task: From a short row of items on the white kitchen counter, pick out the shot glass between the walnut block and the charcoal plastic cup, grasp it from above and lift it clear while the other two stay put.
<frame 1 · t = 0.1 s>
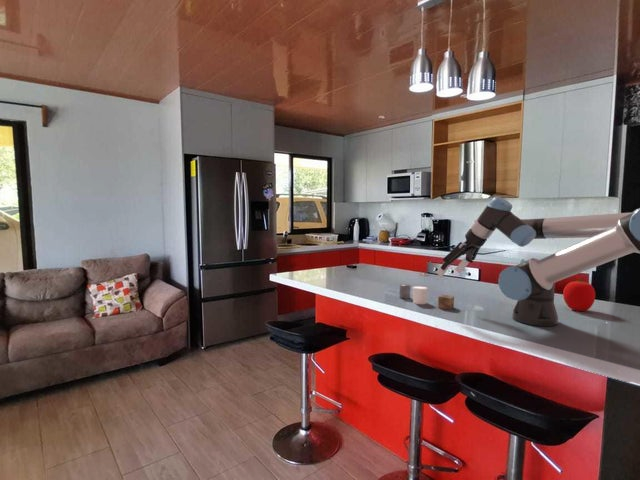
hand: (448, 273, 155), 15 cm above the countertop, tool tilted 35°, fingers open, 13 cm apart
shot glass: (419, 303, 167), on the countertop
walnut block: (445, 307, 159), on the countertop
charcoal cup: (404, 297, 176), on the countertop
tomato: (578, 310, 157), on the countertop
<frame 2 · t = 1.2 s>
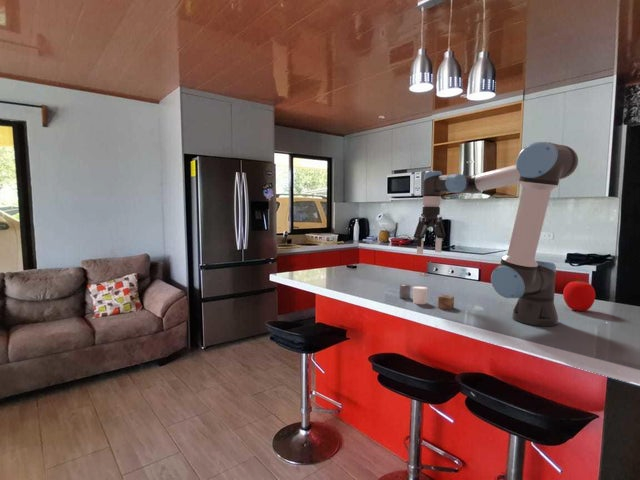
hand: (429, 253, 170), 22 cm above the countertop, tool pointing down, fingers open, 13 cm apart
nothing on the countertop moved.
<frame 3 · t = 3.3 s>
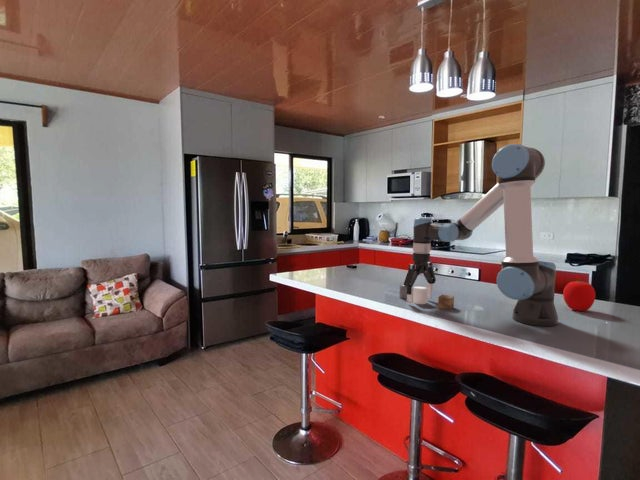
hand: (419, 299, 167), 1 cm above the countertop, tool pointing down, fingers open, 13 cm apart
nothing on the countertop moved.
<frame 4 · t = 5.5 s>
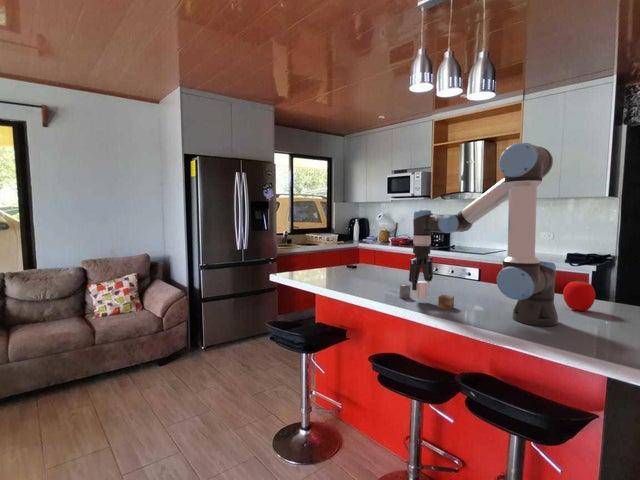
hand: (420, 296, 167), 3 cm above the countertop, tool pointing down, fingers closed on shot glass, 7 cm apart
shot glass: (421, 297, 167), point 3 cm above the countertop, touching gripper
everything else where it was.
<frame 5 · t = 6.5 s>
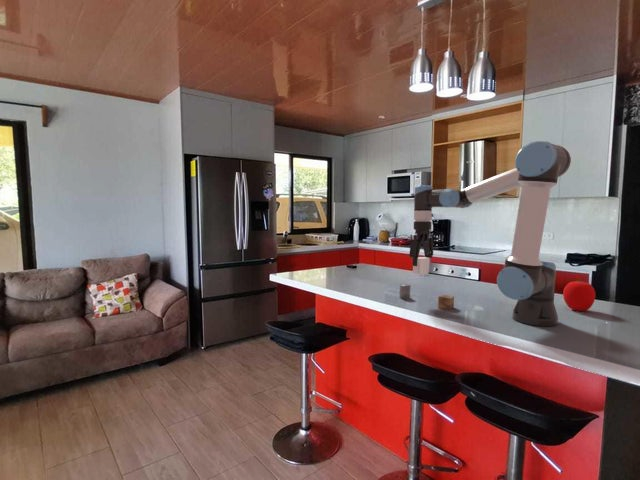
hand: (421, 272, 166), 14 cm above the countertop, tool pointing down, fingers closed on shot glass, 7 cm apart
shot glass: (421, 273, 166), point 13 cm above the countertop, touching gripper
everything else where it was.
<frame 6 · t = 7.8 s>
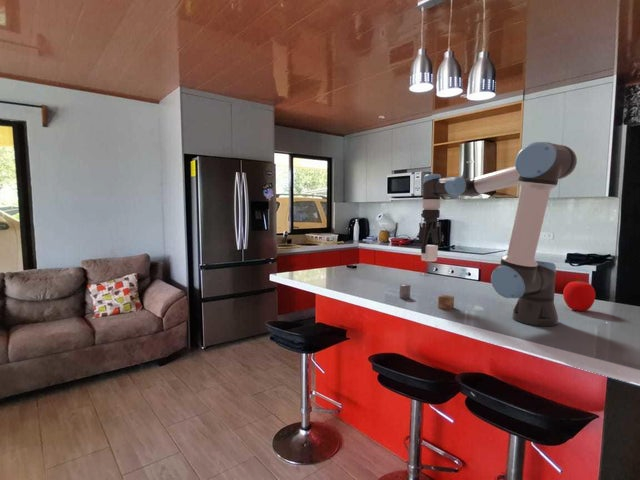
hand: (429, 259, 170), 19 cm above the countertop, tool pointing down, fingers closed on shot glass, 7 cm apart
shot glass: (429, 261, 169), point 18 cm above the countertop, touching gripper
everything else where it was.
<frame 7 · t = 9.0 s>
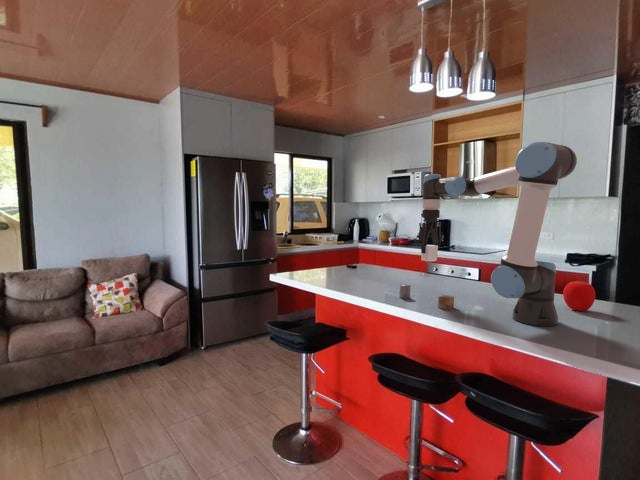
hand: (429, 259, 170), 19 cm above the countertop, tool pointing down, fingers closed on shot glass, 7 cm apart
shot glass: (429, 261, 169), point 18 cm above the countertop, touching gripper
everything else where it was.
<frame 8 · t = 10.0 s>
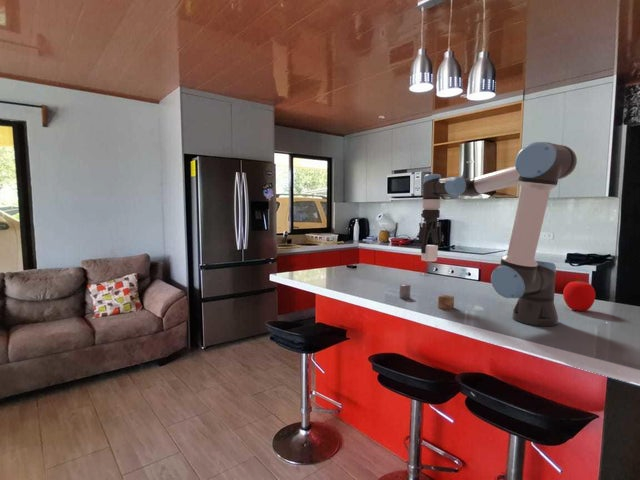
hand: (429, 259, 170), 19 cm above the countertop, tool pointing down, fingers closed on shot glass, 7 cm apart
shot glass: (429, 261, 169), point 18 cm above the countertop, touching gripper
everything else where it was.
at the end: the gripper is holding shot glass; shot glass point 18.4 cm above the countertop; walnut block moved 0.1 cm from its start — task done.
